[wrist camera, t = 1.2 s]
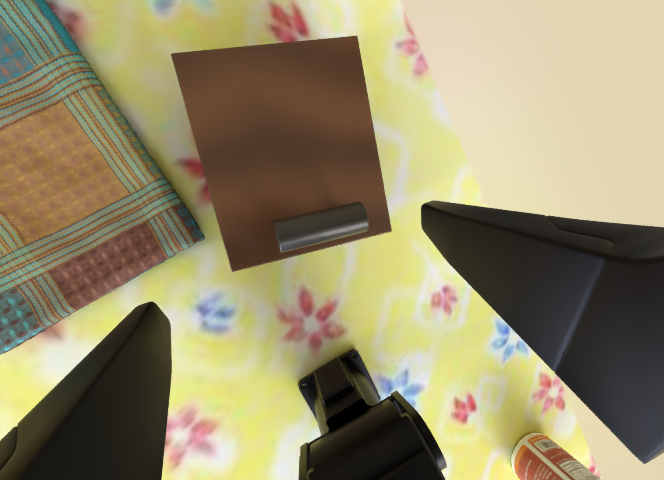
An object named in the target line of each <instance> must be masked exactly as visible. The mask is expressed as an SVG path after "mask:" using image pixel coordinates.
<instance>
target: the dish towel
mask: <svg viewBox="0 0 664 480" xmlns="http://www.w3.org/2000/svg"><path fill="white" fill-rule="evenodd" d="M204 238H205V237H204V235H203V233H202V232H201V230H200V228H199V226H198V224H197V223H196V222H195V220H194V219H193V217H192V215H191V214H190V212H189V211H188V209H187V208H186V206H185V205H184V203H183V202H182V200H181V199H180V198H179V196H178V195H177V193H176V192H175V190H174V189H173V187H172V186H171V184H170V183H169V181H168V180H167V179H166V177H165V176H164V174H163V173H162V172H161V170H160V169H159V168H158V167H157V165H156V163H155V162H154V161H153V159H152V157H151V156H150V155H149V154H148V152H147V150H146V149H145V147H144V145H143V144H142V143H141V141H140V140H139V138H138V136H137V134H136V133H135V132H134V131H133V129H132V128H131V126H130V125H129V123H128V121H127V120H126V119H125V118H124V116H123V115H122V114H121V112H120V110H119V109H118V108H117V107H116V105H115V104H114V102H113V101H112V99H111V97H110V96H109V94H108V93H107V91H106V89H105V88H104V86H103V84H102V83H101V82H100V80H99V79H98V77H97V76H96V74H95V73H94V71H93V70H92V68H91V67H90V65H89V63H88V62H87V60H86V59H85V57H84V56H83V55H82V53H81V52H80V50H79V49H78V47H77V45H76V44H75V43H74V41H73V39H72V38H71V36H70V35H69V33H68V31H67V30H66V29H65V27H64V26H63V25H62V24H61V22H60V21H59V19H58V18H57V16H56V15H55V14H54V13H53V11H52V10H51V9H50V7H49V6H48V4H47V2H46V1H45V0H0V355H1V354H4V353H6V352H8V351H10V350H12V349H14V348H15V347H17V346H19V345H21V344H22V343H24V342H25V341H27V340H29V339H32V338H33V337H35V336H36V335H38V334H39V333H40V332H43V331H45V330H46V329H47V328H49V327H50V326H52V325H54V324H56V323H57V322H59V321H60V320H62V319H64V318H65V317H67V316H69V315H70V314H72V313H74V312H75V311H77V310H79V309H81V308H83V307H84V306H86V305H88V304H90V303H91V302H94V301H96V300H97V299H99V298H101V297H102V296H104V295H106V294H108V293H109V292H111V291H113V290H115V289H117V288H118V287H120V286H122V285H124V284H125V283H127V282H129V281H130V280H132V279H134V278H135V277H137V276H139V275H140V274H142V273H144V272H146V271H148V270H150V269H151V268H153V267H155V266H157V265H159V264H161V263H163V262H164V261H165V260H167V259H169V258H171V257H173V256H174V255H176V254H177V253H178V252H180V251H182V250H184V249H187V248H189V247H191V246H193V245H194V244H195V243H196V242H198V241H202V240H203V239H204Z"/></svg>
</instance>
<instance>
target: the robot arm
mask: <svg viewBox="0 0 664 480" xmlns="http://www.w3.org/2000/svg"><path fill="white" fill-rule="evenodd" d="M421 225H422V229H423V231H424V232H425V233H426V235H427V236H428V237H429V239H430V240H431V241H432V242H433V244H434V245H435V246H436V248H437V249H438V250H439V252H440V253H441V254H442V255H443V257H444V258H445V259H446V260H447V262H448V263H449V264H450V265H451V266H452V267H453V268H454V269H455V270H456V271H457V272H458V273H459V274H460V275H461V276H462V277H463V278H464V279H465V280H466V281H467V282H468V284H469V285H470V286H471V287H472V288H473V289H474V290H475V291H476V292H477V293H478V294H479V295H480V296H481V297H482V298H483V299H484V300H485V301H486V302H487V303H488V304H489V305H490V306H491V307H492V308H493V309H494V310H495V311H496V312H497V313H498V315H499V316H500V317H501V318H502V319H503V320H504V321H505V322H506V323H507V324H508V325H509V326H510V327H511V328H512V329H513V330H514V331H515V332H516V333H517V334H518V335H519V336H520V337H521V338H522V339H523V340H524V341H525V342H526V343H527V344H528V346H529V347H530V348H531V349H532V350H533V351H534V352H535V353H536V354H537V355H538V356H539V357H540V358H541V359H542V360H543V361H544V362H545V363H546V364H547V365H548V366H549V367H550V368H551V369H552V370H553V371H555V374H556V375H557V376H558V377H559V378H560V379H561V380H562V381H563V382H564V383H565V384H566V385H567V386H568V387H569V388H570V389H571V390H572V391H573V392H574V393H575V394H576V395H577V396H578V397H579V398H580V400H581V401H582V402H583V403H584V404H585V405H586V406H587V407H588V408H589V409H590V410H591V411H592V412H593V413H594V414H595V415H596V416H597V417H598V418H599V419H600V420H601V421H602V422H603V423H604V424H605V425H606V426H607V427H608V428H609V429H610V430H611V432H612V433H613V434H614V435H615V436H616V437H618V439H619V440H620V441H621V442H622V443H623V444H624V445H625V446H626V447H627V448H628V449H629V450H630V451H631V452H632V453H633V454H634V455H635V456H636V457H637V458H638V459H639V460H640V461H641V462H643V463H644V464H646V463H647V462H649V461H650V460H652V459H654V458H656V457H657V456H659V455H661V454H662V453H664V227H653V226H641V225H631V224H619V223H608V222H597V221H588V220H578V219H571V218H562V217H555V216H545V215H539V214H532V213H524V212H517V211H509V210H501V209H494V208H487V207H479V206H471V205H464V204H456V203H449V202H441V201H430V202H427V203H424V204H423V205H422V207H421ZM353 354H355V356H352V355H353ZM171 373H172V357H171V325H170V322H169V319H168V318H167V317H166V315H165V314H164V313H163V312H162V311H161V309H160V308H159V307H158V306H157V304H156V303H154V302H147V303H145V304H142V305H139V306H137V307H136V308H135V309H134V310H133V311H132V312H131V313H130V314H129V315H128V316H127V317H125V318H124V319H123V320H122V321H121V322H120V323H119V324H118V325H117V326H116V327H115V328H114V329H113V330H112V331H111V332H110V333H109V334H108V335H107V336H106V337H105V338H104V339H103V340H102V341H101V342H100V343H99V344H98V345H97V346H96V347H95V348H94V349H93V350H92V351H91V352H90V353H89V354H88V355H87V356H86V357H85V358H84V359H83V360H82V361H81V362H80V363H79V364H78V365H77V366H76V367H75V368H74V369H73V370H72V371H71V372H70V373H69V374H68V375H67V376H66V377H65V378H64V379H63V380H62V381H61V382H59V383H58V384H57V385H56V386H55V387H54V388H53V389H52V390H51V391H50V392H49V393H48V394H47V395H46V396H45V397H44V398H43V399H42V400H41V401H40V402H39V403H38V404H37V405H36V406H35V407H34V408H33V409H32V410H31V411H30V412H29V413H28V414H27V415H26V416H25V417H24V418H23V419H22V420H21V421H20V422H19V423H18V426H17V427H14V428H13V429H12V430H11V431H10V432H9V433H8V434H7V435H6V436H5V437H4V438H3V439H2V440H1V441H0V480H161V478H162V468H163V457H164V447H165V437H166V427H167V416H168V406H169V396H170V386H171ZM302 384H306V385H305V386H302ZM298 386H299V389H300V391H301V393H302V395H303V396H304V398H305V400H306V402H307V404H308V405H309V407H310V409H311V411H312V412H313V414H314V416H315V418H316V419H317V421H318V424H319V428H320V432H321V436H320V437H319V438H317V439H315V440H313V441H312V442H310V443H305V444H304V445H302V446H301V451H300V460H299V480H445V478H444V476H443V474H442V472H441V470H443V469H444V468H446V467H447V466H446V462H445V459H444V457H443V454H442V452H441V450H440V448H439V446H438V444H437V442H436V440H435V438H434V437H433V435H432V433H431V432H430V430H429V428H428V427H427V425H426V423H425V422H424V420H423V419H422V417H421V416H420V415H419V413H418V412H417V411H416V410H415V409H414V408H413V407H412V406H411V405H410V404H409V403H408V402H407V401H406V400H405V399H404V398H403V397H402V396H401V395H400V394H399V393H398V391H395V392H393V393H391V396H389V397H387V398H386V399H384V400H382V401H380V399H381V398H380V396H379V394H378V391H377V389H376V387H375V385H374V383H373V381H372V379H371V377H370V375H369V373H368V371H367V369H366V367H365V365H364V363H363V361H362V359H361V357H360V355H359V353H358V351H357V350H355V349H353V350H350V351H349V352H347V353H345V354H344V355H342V356H340V357H338V358H335V359H334V360H332V361H330V362H328V363H327V364H325V365H323V366H322V367H320V368H318V369H317V370H315V372H313V373H311V374H310V375H308V376H306V377H305V378H303V379H301V380H300V381H299V383H298Z"/></svg>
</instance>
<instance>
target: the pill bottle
mask: <svg viewBox="0 0 664 480" xmlns="http://www.w3.org/2000/svg"><path fill="white" fill-rule="evenodd" d="M511 465H512V468H513V471H514V473H515V474H516V475H517V477H518V478H519V479H520V480H601V479H600V478H598V477H597V476H596V475H595V474H593V473H592V472H591V471H590V470H588V469H587V468H586V467H585V466H583V465H582V464H581V463H580V462H578V461H577V460H576V459H575V458H573V457H572V456H571V455H570V454H568V453H567V452H566V451H565V450H563V449H562V448H561V447H560V446H558V445H557V444H556V443H555V442H553V441H552V440H551V439H550V438H548V437H547V436H545V435H544V434H541V433H530V434H528V435H526V436H524V437H523V438H522V439H521V440H520V441H519V442H518V444H517V445H516V447H515V449H514V451H513V454H512V458H511Z"/></svg>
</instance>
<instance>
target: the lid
mask: <svg viewBox="0 0 664 480" xmlns="http://www.w3.org/2000/svg"><path fill="white" fill-rule="evenodd" d="M171 56H172V60H173V63H174V67H175V71H176V74H177V78H178V81H179V85H180V88H181V92H182V96H183V99H184V103H185V106H186V110H187V113H188V117H189V121H190V124H191V128H192V131H193V135H194V138H195V142H196V146H197V149H198V153H199V156H200V160H201V163H202V167H203V171H204V174H205V178H206V181H207V185H208V188H209V192H210V196H211V199H212V203H213V206H214V210H215V213H216V217H217V221H218V224H219V228H220V231H221V235H222V238H223V242H224V246H225V249H226V253H227V256H228V260H229V263H230V267H231V270H232V272H235V271H239V270H243V269H246V268H250V267H254V266H258V265H262V264H266V263H270V262H274V261H278V260H282V259H286V258H290V257H294V256H297V255H301V254H305V253H309V252H313V251H317V250H321V249H325V248H329V247H333V246H337V245H341V244H345V243H349V242H352V241H356V240H360V239H364V238H368V237H372V236H376V235H380V234H384V233H388V232H391V231H392V230H391V225H390V219H389V213H388V208H387V202H386V196H385V191H384V185H383V179H382V174H381V168H380V162H379V157H378V151H377V145H376V140H375V134H374V128H373V123H372V117H371V111H370V106H369V100H368V94H367V89H366V83H365V77H364V72H363V66H362V60H361V55H360V49H359V43H358V38H357V36H350V37H339V38H329V39H318V40H308V41H297V42H287V43H276V44H266V45H255V46H245V47H234V48H224V49H213V50H203V51H192V52H182V53H172V54H171Z"/></svg>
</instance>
